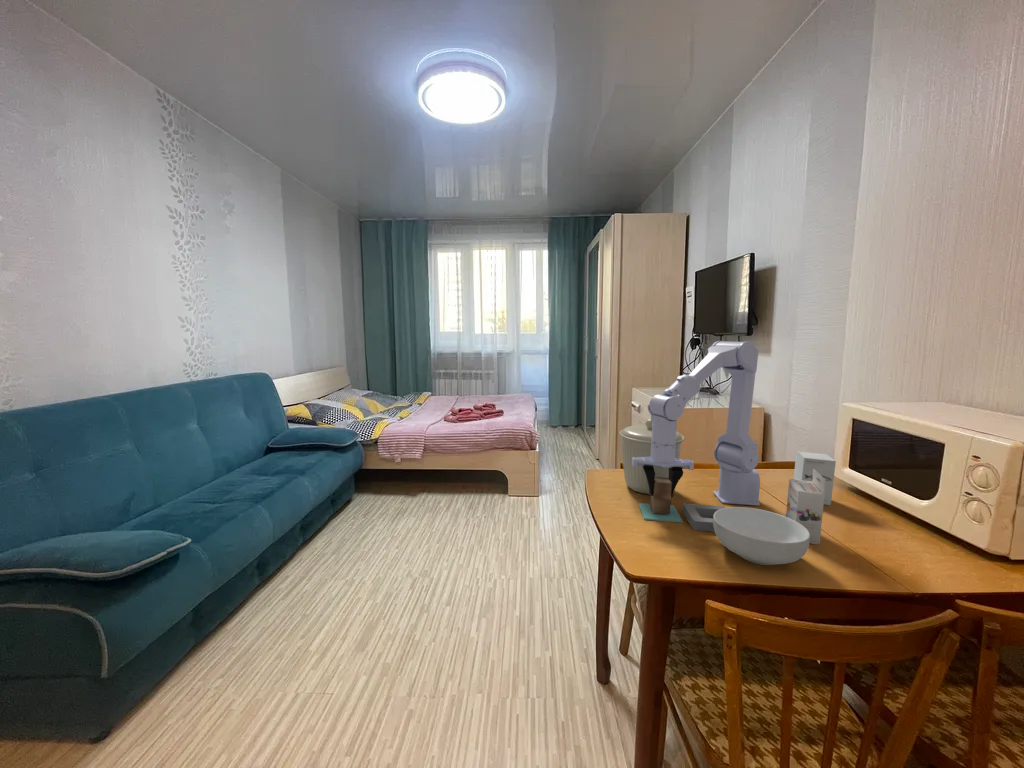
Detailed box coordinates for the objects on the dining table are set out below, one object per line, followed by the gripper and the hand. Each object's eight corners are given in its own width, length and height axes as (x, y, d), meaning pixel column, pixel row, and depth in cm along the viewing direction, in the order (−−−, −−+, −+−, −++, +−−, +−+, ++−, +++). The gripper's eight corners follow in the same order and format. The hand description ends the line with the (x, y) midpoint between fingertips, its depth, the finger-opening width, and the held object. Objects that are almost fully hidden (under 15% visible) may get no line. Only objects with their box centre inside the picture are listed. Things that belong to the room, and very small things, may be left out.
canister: (672, 479, 127) (676, 414, 124) (689, 502, 109) (694, 427, 107) (614, 476, 129) (616, 412, 127) (620, 498, 112) (624, 424, 109)
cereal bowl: (788, 541, 89) (791, 511, 88) (822, 586, 73) (826, 549, 72) (705, 530, 94) (707, 501, 93) (719, 569, 78) (722, 535, 77)
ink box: (783, 524, 97) (789, 465, 95) (808, 528, 95) (814, 468, 93) (793, 541, 89) (799, 477, 87) (820, 545, 87) (827, 480, 85)
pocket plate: (723, 514, 102) (724, 506, 102) (739, 533, 92) (740, 524, 92) (682, 511, 104) (682, 503, 103) (693, 529, 94) (693, 520, 94)
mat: (673, 507, 106) (673, 505, 106) (682, 522, 97) (682, 521, 97) (638, 504, 108) (638, 503, 108) (644, 519, 99) (644, 518, 99)
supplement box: (798, 501, 110) (803, 457, 109) (791, 492, 117) (795, 450, 116) (831, 506, 108) (836, 460, 106) (822, 496, 114) (826, 453, 113)
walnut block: (666, 507, 104) (668, 477, 103) (669, 514, 100) (671, 483, 99) (650, 506, 105) (651, 476, 104) (653, 512, 101) (654, 482, 100)
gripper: (635, 445, 98) (633, 499, 99) (699, 448, 95) (695, 503, 97) (631, 438, 104) (629, 488, 106) (690, 440, 102) (687, 492, 104)
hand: (660, 494), depth 102 cm, fingers closed on walnut block, 4 cm apart
